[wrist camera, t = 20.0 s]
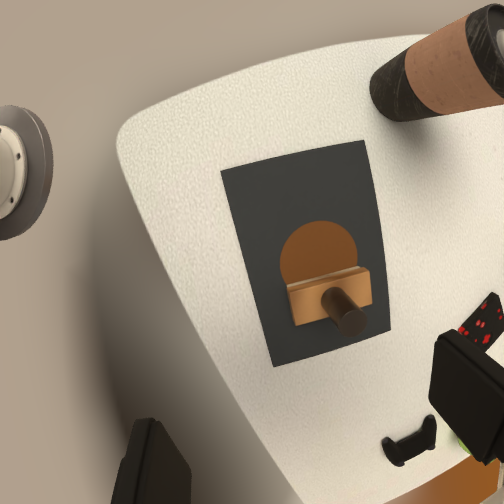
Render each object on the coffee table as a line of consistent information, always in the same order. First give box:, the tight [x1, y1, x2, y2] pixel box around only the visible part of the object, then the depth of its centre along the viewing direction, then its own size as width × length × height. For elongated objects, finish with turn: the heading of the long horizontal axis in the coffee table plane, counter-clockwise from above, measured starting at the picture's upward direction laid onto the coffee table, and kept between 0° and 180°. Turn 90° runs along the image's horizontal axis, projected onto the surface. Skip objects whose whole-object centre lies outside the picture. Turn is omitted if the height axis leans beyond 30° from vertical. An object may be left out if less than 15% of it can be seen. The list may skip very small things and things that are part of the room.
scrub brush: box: [287, 266, 372, 337], centre depth 30 cm, size 9×4×9 cm, turn 103°
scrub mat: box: [220, 140, 391, 367], centre depth 34 cm, size 16×24×1 cm, turn 14°
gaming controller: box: [382, 415, 437, 467], centre depth 42 cm, size 11×4×7 cm
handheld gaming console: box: [458, 292, 504, 352], centre depth 35 cm, size 9×12×10 cm
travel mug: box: [370, 4, 504, 122], centre depth 20 cm, size 8×8×20 cm
